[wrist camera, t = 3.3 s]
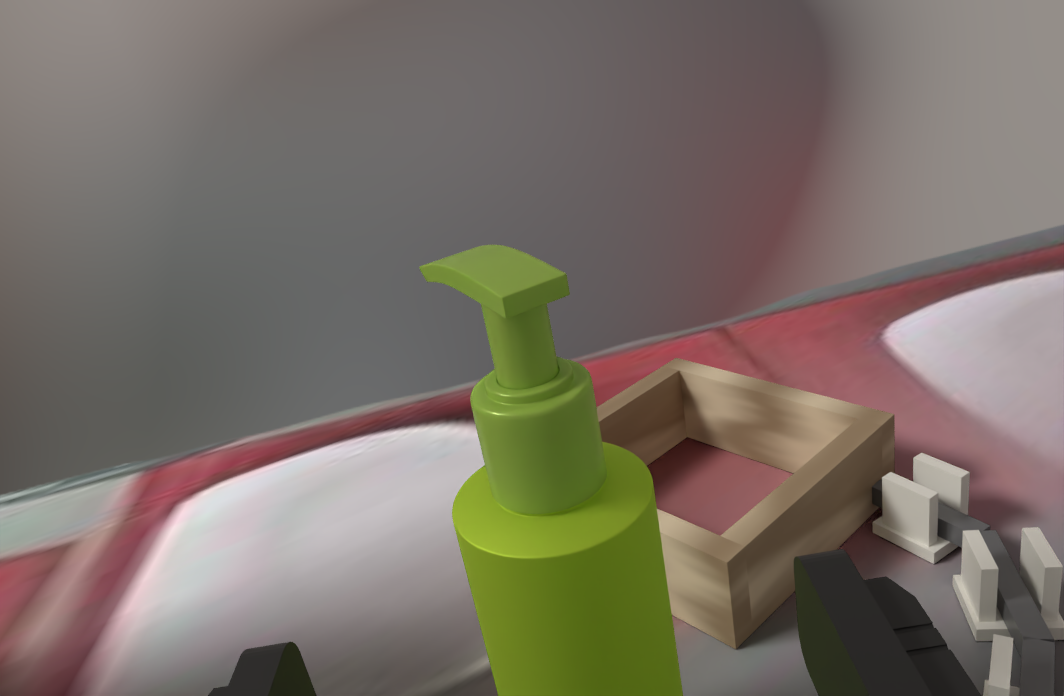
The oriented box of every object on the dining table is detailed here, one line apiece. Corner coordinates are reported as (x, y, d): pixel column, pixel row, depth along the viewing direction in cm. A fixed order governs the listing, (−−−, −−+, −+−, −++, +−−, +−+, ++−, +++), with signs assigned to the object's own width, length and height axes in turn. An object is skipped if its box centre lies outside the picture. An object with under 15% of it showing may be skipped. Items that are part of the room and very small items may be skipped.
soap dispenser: (614, 690, 34) (527, 214, 26) (733, 814, 28) (668, 253, 20) (488, 770, 32) (349, 272, 24) (590, 922, 26) (454, 335, 18)
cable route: (966, 896, 25) (970, 822, 24) (865, 505, 42) (864, 450, 41) (1202, 914, 23) (1219, 836, 22) (997, 501, 41) (1001, 444, 39)
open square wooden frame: (524, 534, 45) (508, 462, 43) (683, 423, 52) (676, 357, 50) (735, 649, 35) (726, 562, 33) (894, 492, 43) (894, 414, 41)
